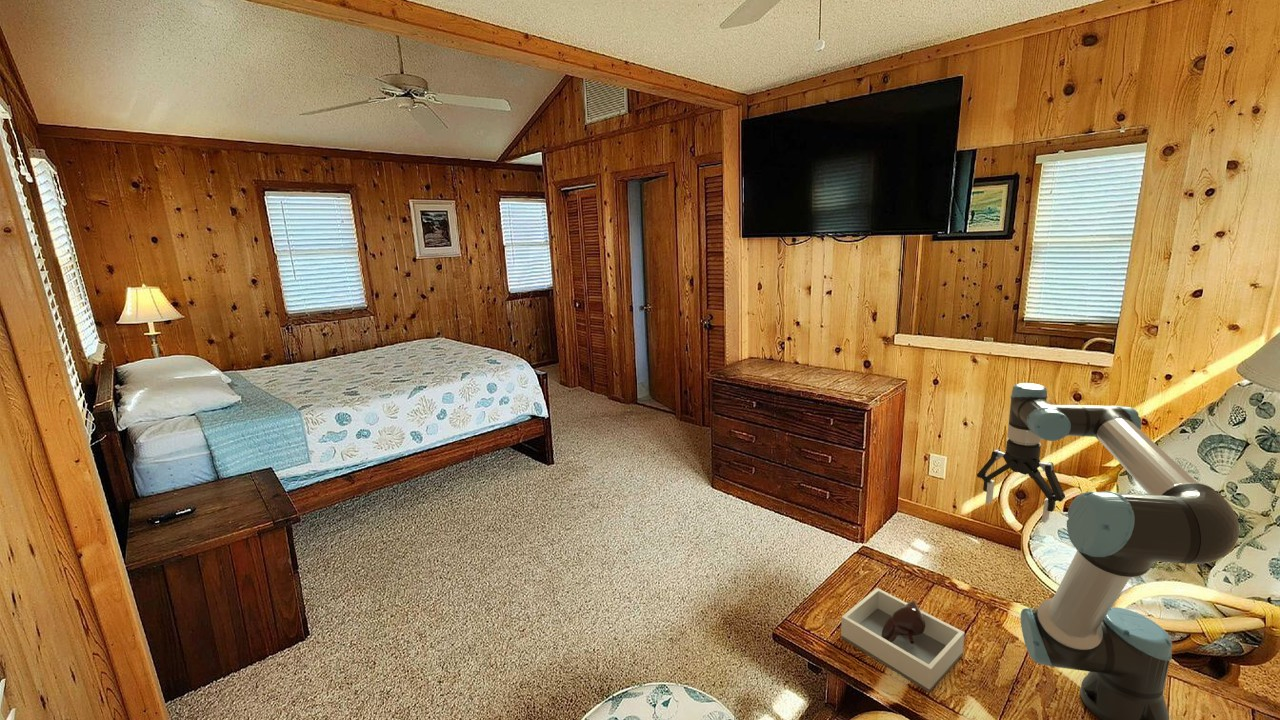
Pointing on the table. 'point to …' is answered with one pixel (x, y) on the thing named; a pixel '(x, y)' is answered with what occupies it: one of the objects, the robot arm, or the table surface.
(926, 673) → the open box
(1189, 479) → the robot arm
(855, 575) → the table surface
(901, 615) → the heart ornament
